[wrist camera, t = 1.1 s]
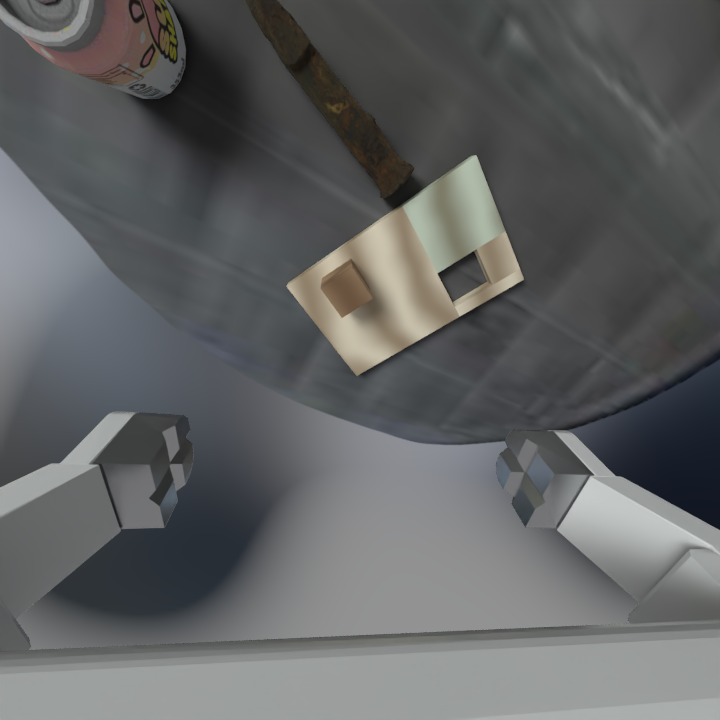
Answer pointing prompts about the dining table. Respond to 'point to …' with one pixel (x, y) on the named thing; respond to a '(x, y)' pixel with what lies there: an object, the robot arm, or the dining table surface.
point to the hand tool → (331, 96)
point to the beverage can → (106, 40)
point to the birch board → (413, 268)
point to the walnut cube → (346, 288)
